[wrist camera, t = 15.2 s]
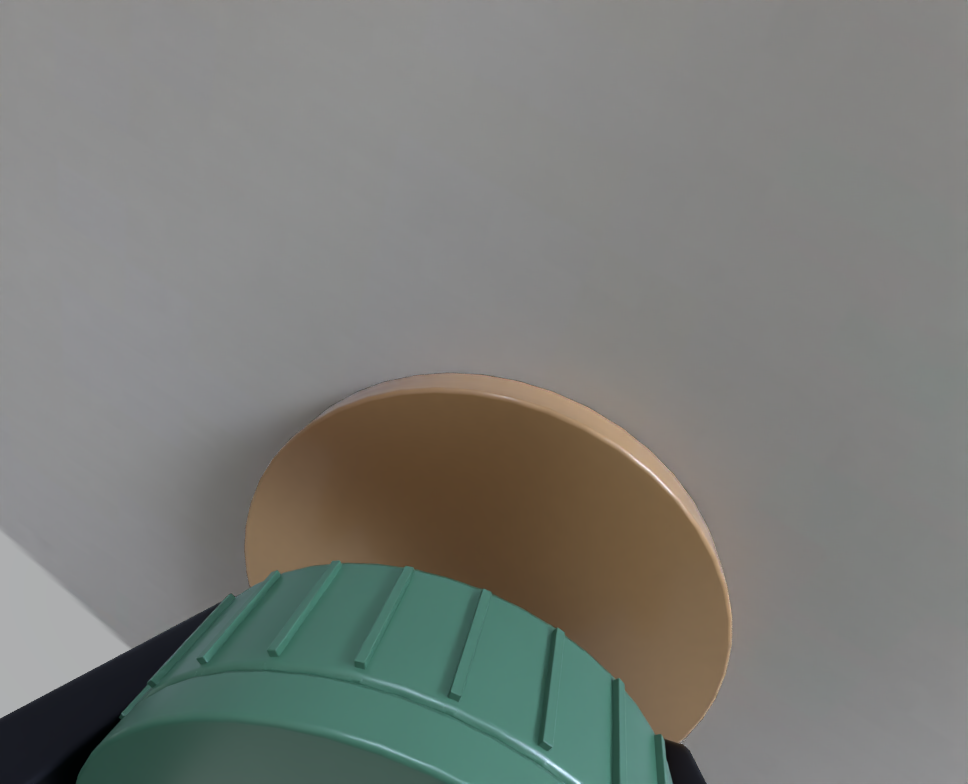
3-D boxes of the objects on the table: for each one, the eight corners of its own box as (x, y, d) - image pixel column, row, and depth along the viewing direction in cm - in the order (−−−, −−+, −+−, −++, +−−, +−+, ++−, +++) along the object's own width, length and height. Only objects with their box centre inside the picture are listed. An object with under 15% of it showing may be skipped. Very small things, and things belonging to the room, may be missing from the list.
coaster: (500, 803, 13) (493, 841, 12) (200, 564, 12) (173, 589, 11) (844, 622, 9) (864, 662, 8) (435, 255, 8) (418, 264, 7)
